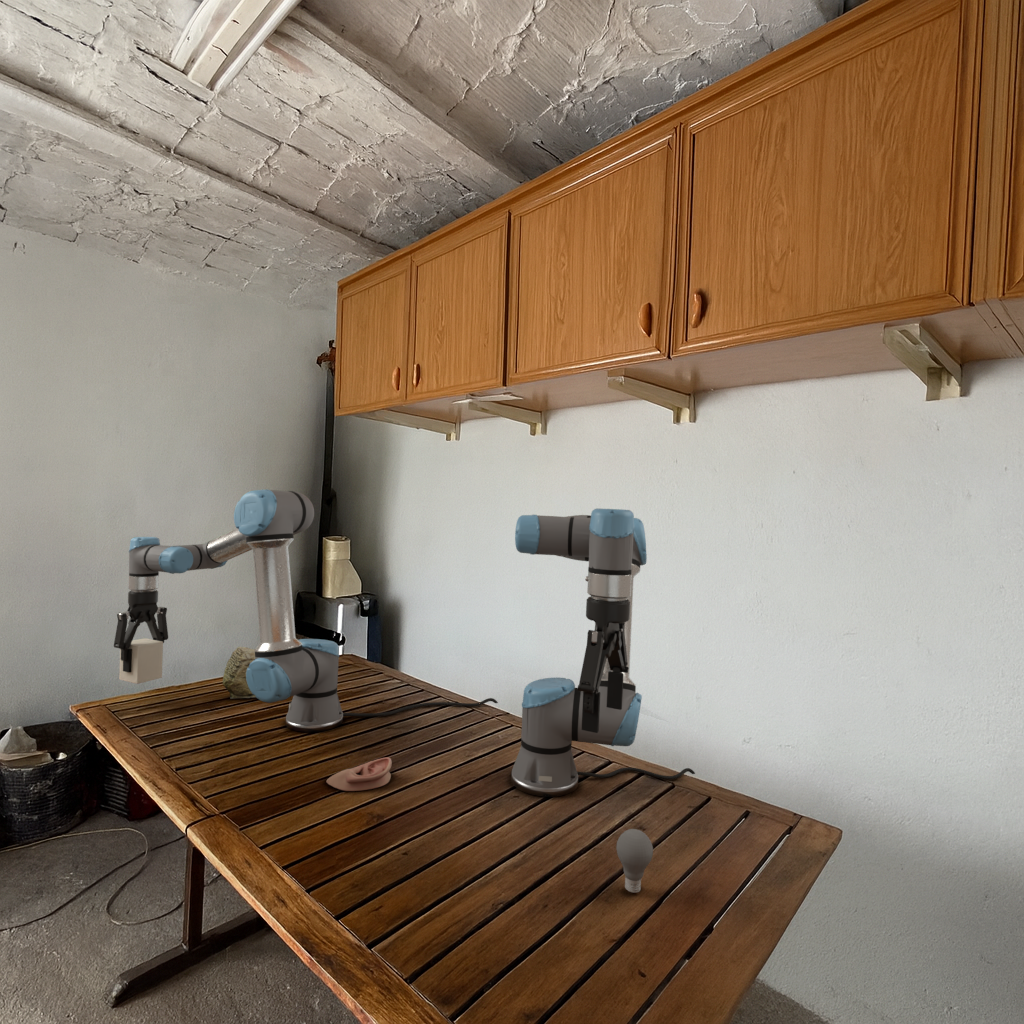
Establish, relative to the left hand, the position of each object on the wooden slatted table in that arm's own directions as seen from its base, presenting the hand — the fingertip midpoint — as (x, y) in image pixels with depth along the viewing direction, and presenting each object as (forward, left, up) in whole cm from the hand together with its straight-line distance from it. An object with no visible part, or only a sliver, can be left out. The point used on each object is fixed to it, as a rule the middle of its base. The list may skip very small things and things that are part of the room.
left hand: (141, 668), depth 184 cm
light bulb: (-19, +150, -11) cm, 151 cm away
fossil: (-28, +13, -11) cm, 33 cm away
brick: (0, 0, -3) cm, 3 cm away
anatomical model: (-13, +85, -11) cm, 86 cm away
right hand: (-19, +142, +16) cm, 145 cm away
